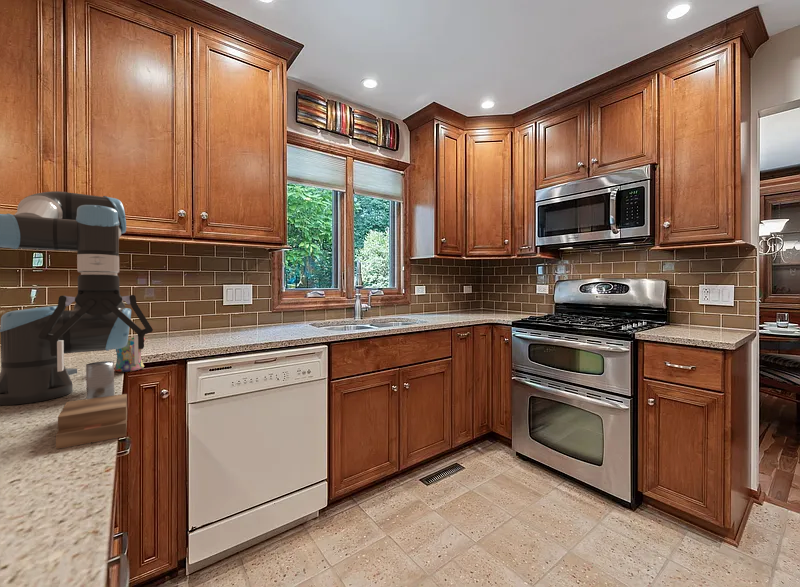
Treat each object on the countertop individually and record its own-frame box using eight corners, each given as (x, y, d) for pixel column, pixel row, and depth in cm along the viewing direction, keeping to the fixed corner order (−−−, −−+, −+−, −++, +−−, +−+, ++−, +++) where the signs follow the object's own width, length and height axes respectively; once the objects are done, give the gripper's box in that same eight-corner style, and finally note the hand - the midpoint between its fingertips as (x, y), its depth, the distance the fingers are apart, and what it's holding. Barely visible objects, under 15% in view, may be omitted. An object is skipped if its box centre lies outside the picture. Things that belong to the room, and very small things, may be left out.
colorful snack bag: (111, 369, 129) (110, 339, 129) (143, 366, 135) (143, 336, 135) (113, 376, 120) (113, 343, 119) (148, 372, 126) (148, 340, 125)
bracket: (77, 374, 124) (77, 368, 124) (47, 382, 114) (46, 375, 114) (66, 374, 125) (66, 368, 125) (34, 382, 114) (34, 375, 114)
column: (87, 409, 87) (86, 362, 87) (115, 405, 90) (114, 360, 90) (85, 416, 83) (84, 366, 83) (114, 411, 86) (113, 364, 86)
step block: (67, 425, 77) (66, 401, 77) (127, 416, 83) (126, 393, 83) (56, 449, 66) (55, 421, 66) (126, 436, 72) (125, 410, 72)
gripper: (18, 272, 76) (20, 377, 76) (164, 274, 90) (165, 362, 90) (27, 273, 82) (28, 370, 82) (162, 275, 96) (163, 358, 97)
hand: (100, 366), depth 86 cm, fingers open, 13 cm apart
